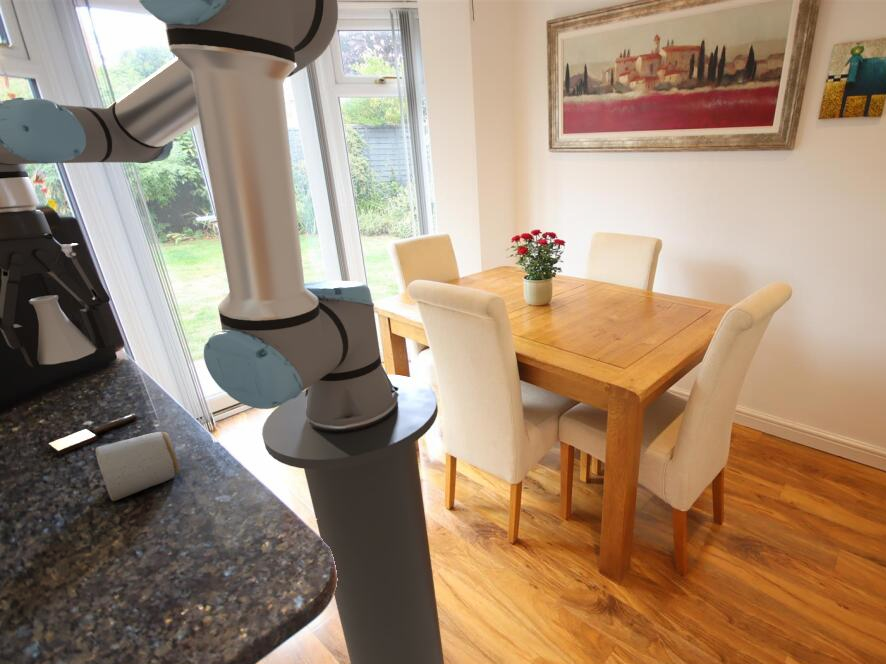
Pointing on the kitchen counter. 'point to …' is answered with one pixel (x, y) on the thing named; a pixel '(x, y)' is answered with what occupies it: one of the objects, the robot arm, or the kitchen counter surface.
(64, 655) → the kitchen counter surface
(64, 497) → the kitchen counter surface
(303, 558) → the kitchen counter surface
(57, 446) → the spatula
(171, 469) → the white cylinder
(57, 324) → the flask
